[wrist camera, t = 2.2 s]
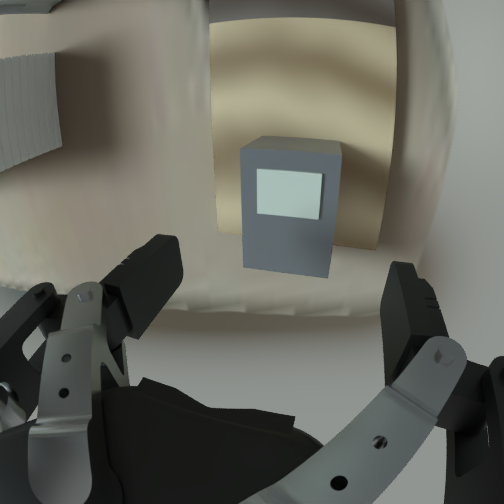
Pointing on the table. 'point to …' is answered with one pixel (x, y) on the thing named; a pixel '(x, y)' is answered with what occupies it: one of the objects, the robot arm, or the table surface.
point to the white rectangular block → (27, 108)
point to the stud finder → (289, 203)
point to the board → (306, 96)
